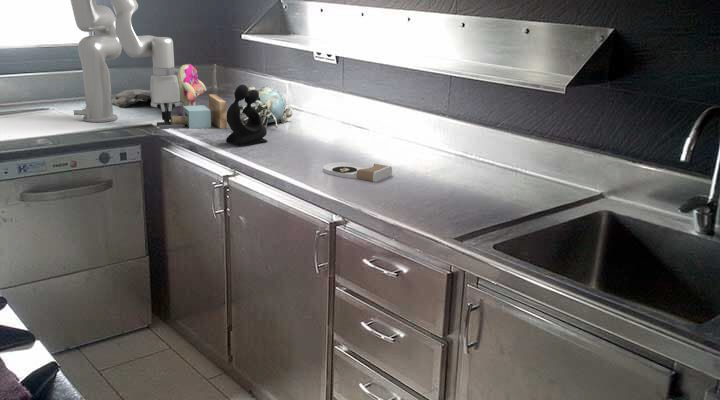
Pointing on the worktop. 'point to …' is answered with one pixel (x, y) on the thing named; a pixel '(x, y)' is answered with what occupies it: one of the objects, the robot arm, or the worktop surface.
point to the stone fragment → (130, 97)
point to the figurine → (254, 126)
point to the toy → (189, 86)
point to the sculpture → (269, 106)
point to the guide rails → (169, 125)
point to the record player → (358, 171)
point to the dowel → (179, 120)
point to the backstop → (218, 111)
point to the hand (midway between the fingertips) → (166, 121)
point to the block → (197, 116)
